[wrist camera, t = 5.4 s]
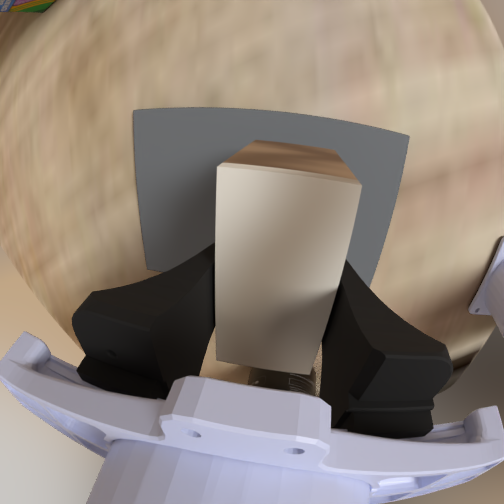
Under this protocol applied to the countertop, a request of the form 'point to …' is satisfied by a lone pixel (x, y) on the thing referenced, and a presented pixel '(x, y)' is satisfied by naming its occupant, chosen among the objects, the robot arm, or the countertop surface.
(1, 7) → the chalk box
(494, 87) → the countertop surface
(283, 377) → the supplement bottle
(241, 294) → the beige rectangular block
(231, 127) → the slate mat
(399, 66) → the countertop surface
